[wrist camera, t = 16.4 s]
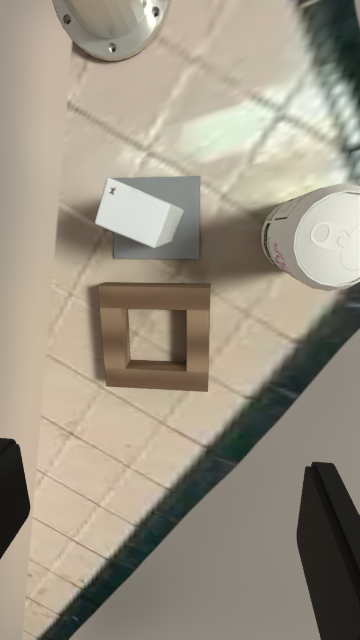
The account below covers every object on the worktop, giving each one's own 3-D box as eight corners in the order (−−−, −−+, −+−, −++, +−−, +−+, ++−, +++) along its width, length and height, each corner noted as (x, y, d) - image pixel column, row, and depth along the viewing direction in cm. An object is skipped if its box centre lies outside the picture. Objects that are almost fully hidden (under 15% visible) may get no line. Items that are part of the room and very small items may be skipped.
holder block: (106, 282, 42) (98, 286, 39) (210, 283, 40) (209, 288, 38) (113, 376, 46) (106, 386, 43) (208, 381, 44) (207, 391, 42)
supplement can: (342, 212, 36) (424, 202, 22) (311, 279, 39) (366, 308, 24) (277, 189, 36) (315, 164, 22) (249, 257, 39) (268, 274, 25)
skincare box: (128, 224, 39) (91, 223, 28) (139, 190, 38) (106, 174, 26) (172, 243, 39) (154, 250, 28) (185, 210, 38) (171, 202, 26)
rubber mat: (110, 178, 38) (109, 178, 38) (200, 176, 37) (200, 176, 37) (115, 258, 41) (114, 258, 40) (199, 258, 40) (199, 259, 39)
